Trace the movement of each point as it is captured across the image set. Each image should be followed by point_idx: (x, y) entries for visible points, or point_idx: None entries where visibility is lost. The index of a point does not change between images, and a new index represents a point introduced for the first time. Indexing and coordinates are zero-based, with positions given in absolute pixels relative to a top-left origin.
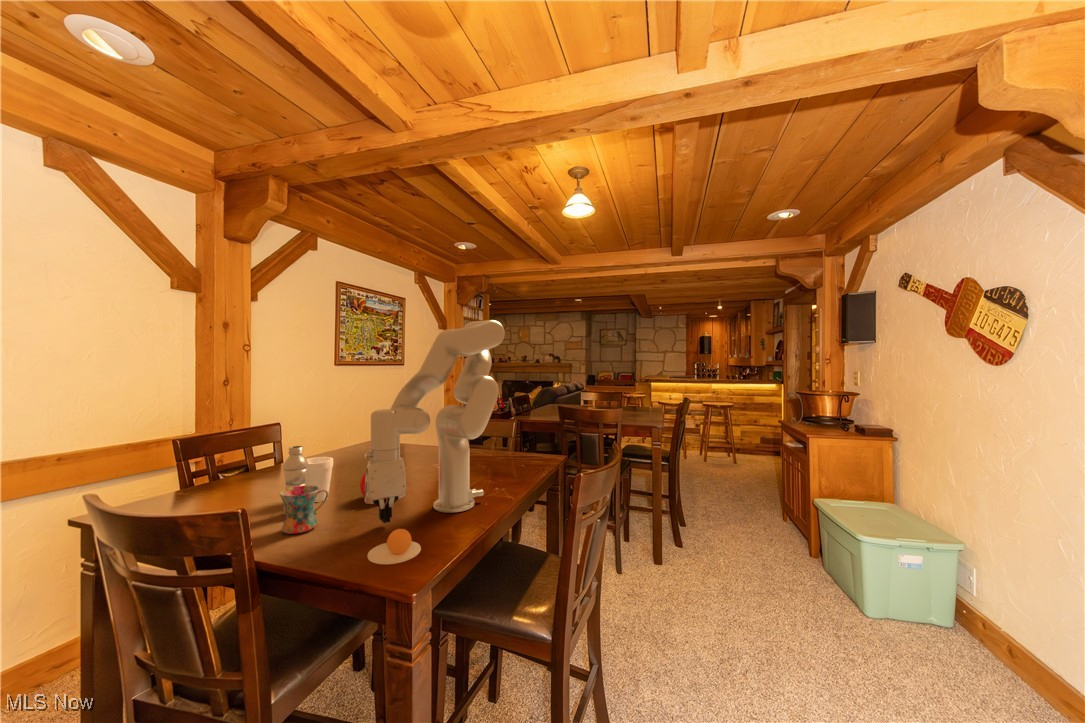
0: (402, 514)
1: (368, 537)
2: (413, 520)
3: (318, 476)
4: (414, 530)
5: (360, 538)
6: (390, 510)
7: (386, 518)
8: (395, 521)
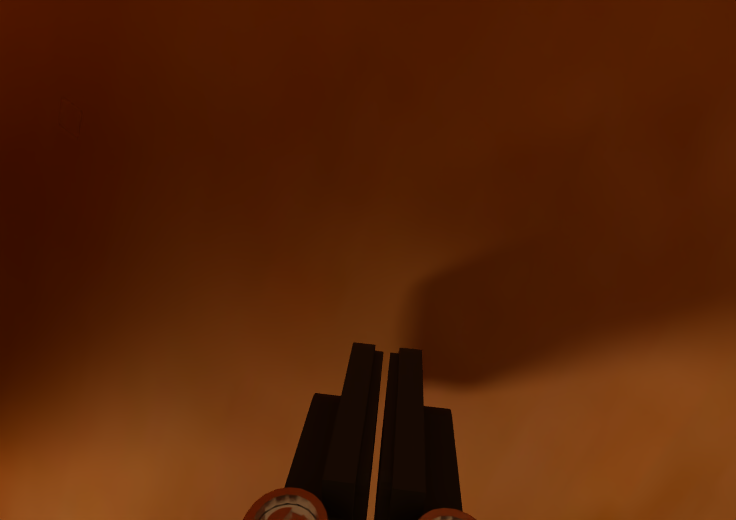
0: (178, 492)
1: (640, 221)
2: (119, 326)
3: None
4: (162, 63)
5: (712, 252)
6: (313, 461)
7: (391, 378)
8: (269, 407)
